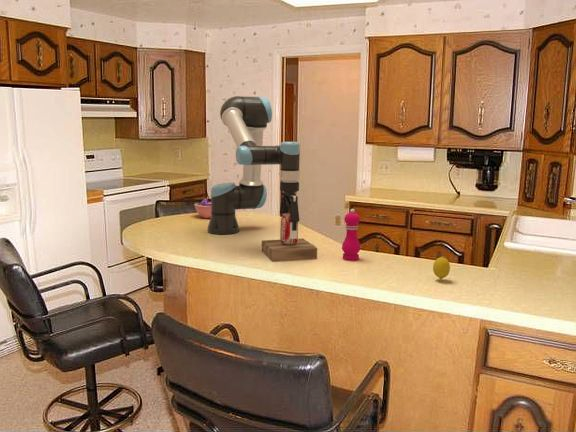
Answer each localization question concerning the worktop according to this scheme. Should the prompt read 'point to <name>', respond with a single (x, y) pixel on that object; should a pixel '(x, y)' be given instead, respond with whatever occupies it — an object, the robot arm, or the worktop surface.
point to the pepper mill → (351, 237)
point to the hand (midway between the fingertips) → (288, 235)
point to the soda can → (286, 230)
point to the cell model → (204, 209)
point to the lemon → (441, 267)
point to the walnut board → (289, 250)
